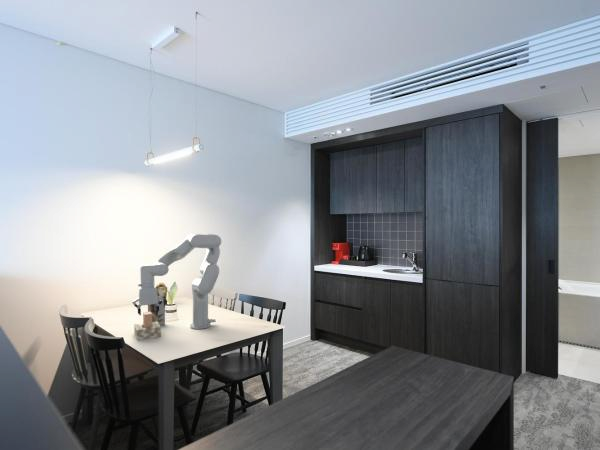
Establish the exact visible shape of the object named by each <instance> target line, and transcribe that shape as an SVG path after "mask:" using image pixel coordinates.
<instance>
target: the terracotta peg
mask: <svg viewBox="0 0 600 450" xmlns="http://www.w3.org/2000/svg"><path fill="white" fill-rule="evenodd" d="M142 316H143V317H142V321H143V322H142V323H143V328H148V327H152V313H151V312H148V311H146V312H143V313H142Z"/></svg>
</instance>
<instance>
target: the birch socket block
mask: <svg viewBox="0 0 600 450" xmlns="http://www.w3.org/2000/svg"><path fill="white" fill-rule="evenodd" d="M161 327H162V325H161V326H160V325H159V323H158V322H152V327H148V328H143V322H142V323H135V324H134V326H133V328H134V330H133V331H134V332H133V333H134V336H135V339H136V341H137V340H139V341H140V340H147V339H151V338H158V337H159V338H160V337H162V328H161Z"/></svg>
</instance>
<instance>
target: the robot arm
mask: <svg viewBox="0 0 600 450" xmlns="http://www.w3.org/2000/svg"><path fill="white" fill-rule="evenodd" d="M221 245H222V238H221V237H220V236H219V235H218V234H213V233H212V234H211V233H207V234H199V233H190V234H189V235H187V236H186V237H185V238H184V239H182V241H181V242H179V243H178V244H177V245H176V246H174V247H173V248H172V249H170V250H169V251H168V252H166V253H165V254H163V255H162V256H161V257H160V258H158V260H156V261H155V262H154V263H153V264H152V263H145V264H141V265H140V269H139V270H140V283H138V284H137V286H138V287H139V290H138V298H136V299H134V300H133V301H132V302H131V303H132V304H133V306H134V307H135V308H136V309H137V314H138V315H139V316H142V310H141V307H142V306H148V305H150V304H156V312H157V313H158V311H159V306H160V304H161V303H162V301H163V299H164V298H163V297H160V296H157V289H156V284H155V277H163V276H166V275H167V274H168V273H169V269H170V268H169V266H171V265H172V264H174V263H175V262H177V261H180V260H183V259H185V258H186V256H188V254H189V255H190V253H191V252H193V250H194V249H206V253H205V256H204V259H203V261H202V263H201V265H200V269H199V273H200V274H201V275H202V276H199V277H196V278H194V279H193V281H192V283H191V290H192V323H191V324H190V329H193V330H202V329H203V330H204V329H208V328H210V327H211V323H216V318H215V319H213V318H209V294H211V292H212V291H213V289H214V287H215V285H216V282H217V280H218V277H219V274H220V267H219V265H217V264H218V261H219V259H220V254H221V249H220V246H221ZM158 298H159V299H161V300H160V301H159V303H158ZM137 302H138V303H139V304H137Z"/></svg>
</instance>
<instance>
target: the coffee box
mask: <svg viewBox="0 0 600 450" xmlns="http://www.w3.org/2000/svg"><path fill="white" fill-rule="evenodd" d="M160 300H161V299H158V303H159V301H160ZM147 312H151V313H152V322H158V323H159V325H160V326H161V327H162V326H164V325H166V314H165V313H166V305H165V300H163V301H162V303H161V304H160V306H159V311H158V313H157V312H156V304H150V305H147Z"/></svg>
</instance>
